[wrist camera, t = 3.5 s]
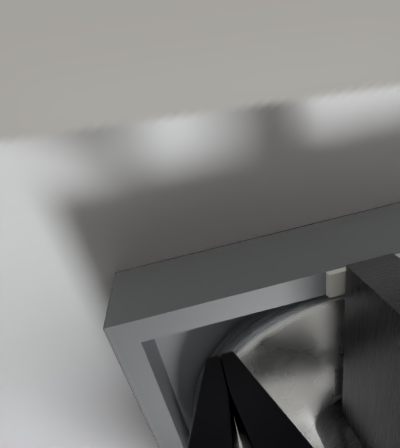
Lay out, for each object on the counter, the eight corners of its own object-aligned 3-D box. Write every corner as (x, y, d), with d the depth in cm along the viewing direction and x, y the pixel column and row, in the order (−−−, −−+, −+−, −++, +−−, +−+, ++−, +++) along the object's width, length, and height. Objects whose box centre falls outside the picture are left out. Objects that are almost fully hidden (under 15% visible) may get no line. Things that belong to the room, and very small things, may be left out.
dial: (443, 431, 19) (533, 538, 14) (219, 495, 18) (241, 627, 14) (515, 187, 12) (745, 248, 7) (144, 279, 11) (137, 412, 6)
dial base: (197, 479, 20) (205, 550, 17) (115, 273, 13) (102, 333, 10) (437, 411, 21) (486, 468, 18) (498, 178, 13) (604, 204, 10)
